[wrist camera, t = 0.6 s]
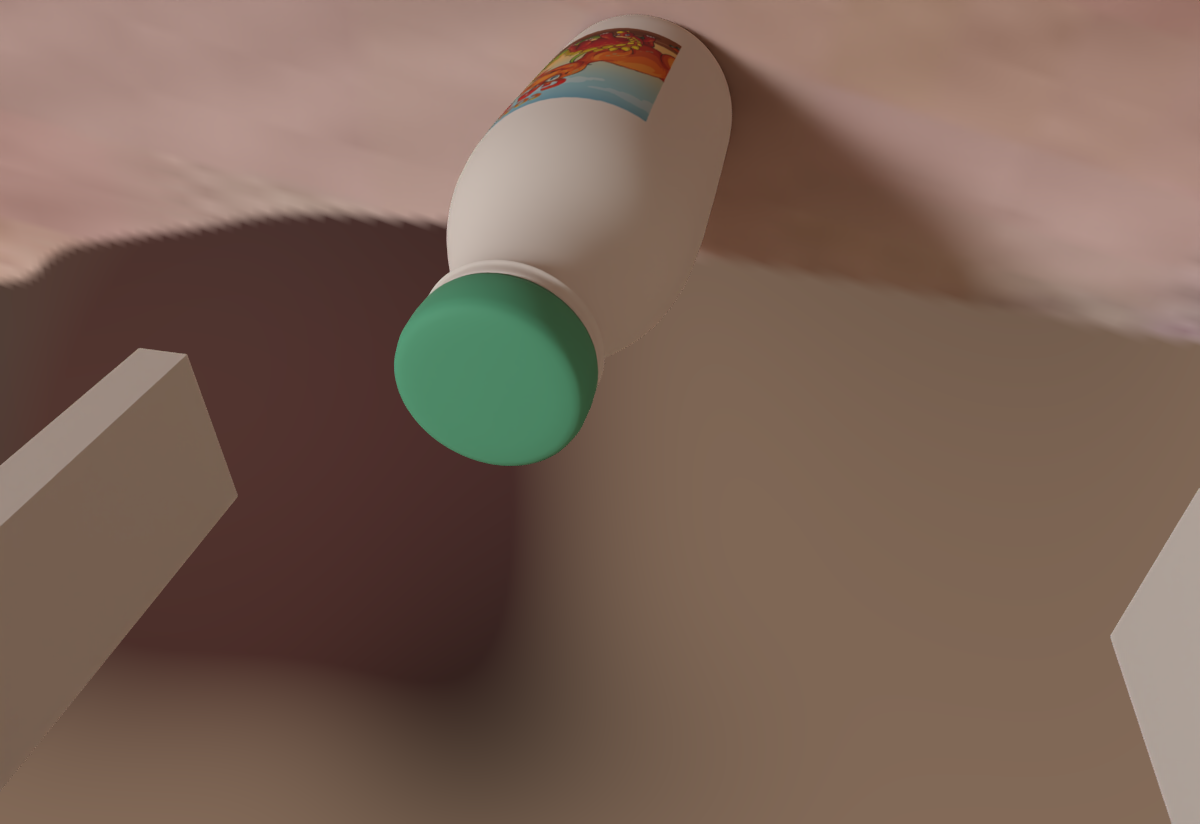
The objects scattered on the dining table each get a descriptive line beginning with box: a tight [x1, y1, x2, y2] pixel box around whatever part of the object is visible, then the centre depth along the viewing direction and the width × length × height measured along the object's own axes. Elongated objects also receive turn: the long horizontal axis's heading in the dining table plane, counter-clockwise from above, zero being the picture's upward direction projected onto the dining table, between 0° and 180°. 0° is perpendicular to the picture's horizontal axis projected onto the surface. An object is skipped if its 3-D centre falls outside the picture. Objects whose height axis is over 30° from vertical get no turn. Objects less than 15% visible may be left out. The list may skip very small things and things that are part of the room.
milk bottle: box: [394, 15, 732, 466], centre depth 26 cm, size 8×8×20 cm
